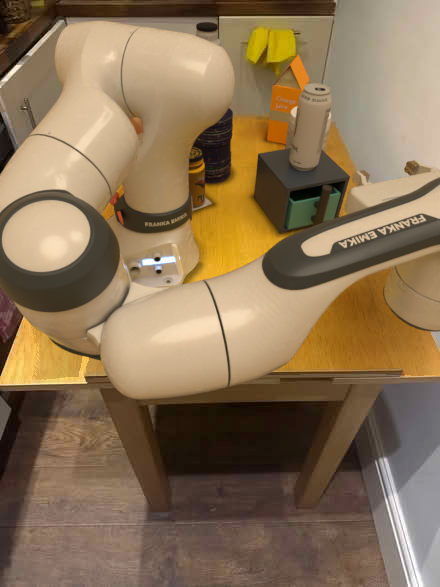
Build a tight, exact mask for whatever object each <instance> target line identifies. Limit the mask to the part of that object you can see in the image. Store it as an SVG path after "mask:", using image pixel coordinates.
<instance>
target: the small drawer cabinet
mask: <svg viewBox="0 0 440 587" xmlns="http://www.w3.org/2000/svg"><path fill="white" fill-rule="evenodd" d="M290 150H291V148H288V149H285V148H283V149H277V150H272V151H266V152H259V153H258V154H257V162H256V172H255V181H254V182H255V183H254V192H253V198H254V200H255V201H256V202H257V204H258V205H259V206H260V208H261V209H262V211H263V212H264V214H265V215H266V216H267V218H268V219H269V221H270V222H271V223H272V225H273V226H274V227H275V229H276V230H277V232H278V233H279V234H284V233H289V232H294V231H297V230H303V229H307V228H309V227H312V226H313V224H310V225H306V226H301V227H297V228H292V229H287V227H286V226H285V219H286V213H287V208H288V202H289V196H290V191H295V190H300V189H305V188H310V187H315V186H320V185H325V184H330V183H331V184H332V185H333V186H334V187H335V188H336V189H337V190H338V191H339V192H340V193H341V195H340V199H339V202H338V206H337V209H336V213H335V216H334V219H335V218H338V217H340V213H341V209H342V206H343V203H344V199H345V196H346V192H347V188H348V185H349V182H350V179H351V176H350V175H349V174H348V173H347V172H346V170H344V169H343V168H342V167H341V166H340V165H339V164H338V163H337V162H336V161H334V159H332V157H330V156H329V154H327V152H326V151H325V152H324V151H323V150H322V149H321V154H320V158H319V163H318V165H317V166H315V168H314V169H312V170H310V171H300V170H297V169H295V168H293V167H292V165H291V162H290V161H289V156H290ZM328 221H329V220H328ZM324 222H326V221H324ZM324 222H323V223H324Z"/></svg>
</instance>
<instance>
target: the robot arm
mask: <svg viewBox="0 0 440 587" xmlns="http://www.w3.org/2000/svg"><path fill="white" fill-rule="evenodd" d="M54 66H55V67H54V68H55V72H56V75H57V78H58V80H59V83H60V84H61V86H62V91H61V92H60V95H59V97H58V99H57V100H56V102H55V103H54V104H53V105H52V107H51V108H50V109H49V110H48V112H47V113H46V114H45V115H44V117H43V118H42V119H41V121H40V122H39V123H38V124H37V125H36V127H35V128H34V129H33V130H32V131H31V132H30V134H28V136H26V138H25V140H23V142H22V143H21V144H20V145H19V147H18V148H17V149H16V151H15V152H14V153H13V154H12V156H11V157H10V159H9V160H8V162H7V163H6V164H5V166H4V168H3V170H2V171H1V173H0V289H1V290H2V292H3V293H4V294H5V295H6V297H7V298H8V299H10V300H11V301H12V302H13V303H14V305H15V307H16V308H17V310H18V311H19V312H20V314H21V315H22V316H23V317H24V319H25V320H26V321H27V322H28V323H29V324H30V325H31V326H32V327H33V328H35V329H36V330H37V331H38V332H40V333H42V334H44V335H45V336H46V337H47V338H48V339H49V340H50V341H51V342H52V343H53V344H54V345H55V346H57V347H58V348H59V349H61V350H64V351H66V352H68V353H71V354H74V355H77V356H82V357H85V358H89V359H93V360H95V361H99V362H101V365H102V367H103V371H104V373H105V374H106V376H107V378H108V380H109V382H110V383H111V385H112V386H113V387H114V388H115V389H116V391H117V392H119V393H120V395H123V396H125V397H127V398H129V399H133V400H138V401H139V400H140V401H142V400H143V401H144V400H160V399H161V400H162V399H169V398H179V397H186V396H193V395H199V394H203V393H210V392H215V391H218V390H223V389H227V388H230V387H234V386H239V385H242V384H245V383H249V382H252V381H255V380H258V379H260V378H262V377H265V376H267V375H269V374H271V373H273V372H274V371H275V372H276V371H277V370H279V369H281V368H282V367H284V366H285V365H287V364H288V363H290V362H291V360H292V359H293V358H294V357H295V356H296V355H297V353H298V352H299V350H300V349H301V347H302V346H303V345H304V343H305V341H306V340H307V337H308V336H309V334H310V333H311V331H312V330H313V329H314V327H315V326H316V324H317V323H318V322H319V320H320V319H321V317H322V316H323V315H324V313H325V312H326V311H327V310H328V308H329V307H330V306H331V305H332V304H333V303H334V302H335V300H337V298H338V297H340V295H342V294H343V293H344V291H346V290H347V289H348V288H349V287H351V286H352V285H354V284H355V283H356V282H359V281H361V280H362V279H364V278H366V277H369V276H371V275H374V274H376V273H379V272H383V271H386V270H388V269H389V271H388V275H387V277H386V280H385V283H384V286H383V289H382V293H383V294H382V295H383V299H384V302H385V304H386V305H387V307H388V309H389V310H390V311H391V313H392V314H393V315H394V316H395V317H396V318H397V319H399V320H400V321H401V322H403V323H404V324H406V325H407V326H409V327H412V328H413V329H417V330H420V331H422V332H423V331H424V332H434V333H435V332H436V333H437V332H440V169H439V168H437V167H435V166H431V165H428V164H425V163H424V164H423V163H422V162H420V161H419V160H417V159H413V160H409V161H407V162H406V163H405V166H404V169H403V171H404V173H405V174H407V175H408V176H401V177H397V178H392V179H388V180H382V181H378V182H371V181H368V180H369V179H370V176H371V174H370V173H368V172H367V171H366V169H362V170H357V171H354V172H353V175H352V179H351V180H352V183H353V184H354V185H355V186H354V187H352V188H350V189H349V192H348V195H347V197H346V200H345V205H344V212H345V213H346V214H344V215H342V216H338V218H335V219H332V220H329V221H326V222H324V223H321V224H318V225H315V226H311V227H307V228H303V229H301V230H299V231H297V232H294V233H292V234H289V235H288V236H286V237H284V238H282V239H280V240H279V241H278V242H276V243H275V244H274V245H273V246H272V247H271V248H269V249H268V250H267V251H266V252H264V253H263V254H262V255H260V256H258V257H257V258H255V259H253V260H251V261H250V262H249V263H246V264H244V265H242V266H240V267H238V268H236V269H234V270H230V271H228V272H226V273H223V274H220V275H217V276H213V277H209V278H204V279H201V280H196V281H192V282H187V283H184V282H185V279H186V277H187V276H188V275H189V274H190V273H191V272H192V271H194V270H195V268H196V267H197V265H198V263H199V261H200V256H201V253H200V249H199V247H198V245H197V241H196V238H195V234H194V230H193V224H192V221H193V213H194V210H193V203H192V196H191V192H190V191H189V157H190V152H191V149H192V146H193V144H194V142H195V140H196V139H197V137H198V136H199V135H200V134H201V133H202V132H203V131H204V130H206V129H207V128H209V127H210V126H212V125H214V124H215V123H217V122H218V121H219V120H220V119H221V118H222V117H223V116H224V114H225V113H226V112H227V110H228V108H230V106H231V104H232V101H233V98H234V96H235V95H234V94H235V90H236V89H235V88H236V76H235V70H234V66H233V63H232V60H231V57H230V55H229V54H228V52H227V51H226V49H225V48H224V47H223V46H222V45H221V46H219V45H216V44H214V43H212V42H210V41H208V40H205V39H203V38H200V37H197V36H196V34H192V33H187V32H181V31H175V30H168V29H162V28H156V27H151V26H140V25H134V24H128V23H120V22H115V21H109V20H91V21H83V22H82V21H81V22H75V23H71V24H68V25H67V26H65V27H64V28H63V29H62V31H61V32H60V34H59V35H58V38H57V41H56V44H55V48H54ZM134 117H137V118H140V119H141V121H142V123H143V133H140V134H138V135H137V134H136V131H135V129H134V126H133V125H132V123H131V121H130V120H129V119H131V118H134ZM120 187H122V194H121V195H120V194H119V192H118V190H119V188H120ZM109 204H110V205H111V206H113V214H112V215H111V216H110V217H108V218H107V219H106V218H105V217H104V216H103V215H102V214H103V212H104V211H105V209H106V208H107V206H108V205H109Z"/></svg>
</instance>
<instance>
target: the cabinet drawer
mask: <svg viewBox="0 0 440 587" xmlns="http://www.w3.org/2000/svg"><path fill="white" fill-rule="evenodd" d="M340 195H341V193H340V192H339V191H338V190H337V189H336V188H335V187H334V186H333V185H332V184H331V183H330V184H325V185H320V186H315V187H310V188H305V189H300V190H295V191H290V196H289V202H288V208H287V213H286V219H285V226H286V227H287V229H292V228H297V227H301V226H306V225H310V224H313V226H315V225H318V224H321V223H323V222H324V221H328V220H332V219H334V216H335V213H336V209H337V206H338V202H339V199H340Z"/></svg>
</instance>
